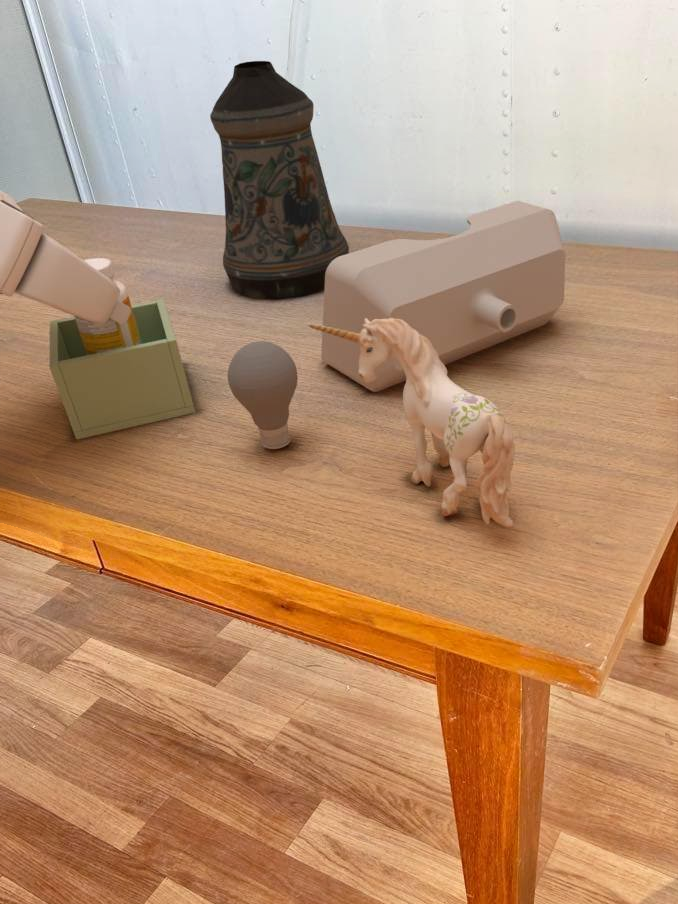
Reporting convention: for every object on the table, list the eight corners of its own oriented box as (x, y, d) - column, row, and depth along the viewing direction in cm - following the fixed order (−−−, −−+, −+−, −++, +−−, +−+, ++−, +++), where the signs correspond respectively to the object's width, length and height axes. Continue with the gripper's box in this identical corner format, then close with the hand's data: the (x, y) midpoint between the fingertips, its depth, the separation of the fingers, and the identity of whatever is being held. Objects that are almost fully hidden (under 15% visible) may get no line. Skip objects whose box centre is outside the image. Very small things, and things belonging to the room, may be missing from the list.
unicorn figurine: (387, 434, 78) (371, 293, 70) (562, 508, 66) (568, 350, 58) (329, 468, 74) (305, 323, 66) (504, 553, 62) (502, 391, 54)
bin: (76, 440, 82) (49, 366, 77) (74, 390, 91) (49, 321, 86) (195, 412, 84) (176, 339, 79) (181, 366, 93) (163, 298, 88)
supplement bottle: (122, 345, 88) (94, 252, 82) (156, 355, 85) (130, 259, 79) (79, 366, 84) (47, 270, 79) (113, 377, 82) (83, 278, 76)
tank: (407, 421, 79) (394, 292, 72) (320, 366, 90) (302, 249, 83) (598, 339, 90) (605, 219, 82) (500, 299, 101) (498, 190, 93)
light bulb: (232, 459, 76) (207, 357, 70) (263, 426, 81) (242, 327, 75) (291, 467, 74) (271, 362, 68) (319, 433, 79) (303, 332, 73)
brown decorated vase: (286, 310, 103) (245, 82, 88) (189, 283, 114) (138, 75, 99) (376, 267, 113) (354, 54, 98) (279, 245, 124) (245, 50, 109)
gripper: (-88, 244, 77) (47, 311, 88) (0, 293, 65) (145, 365, 76) (-59, 181, 77) (74, 257, 88) (36, 218, 65) (176, 301, 76)
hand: (108, 307), depth 82 cm, fingers closed on supplement bottle, 5 cm apart
